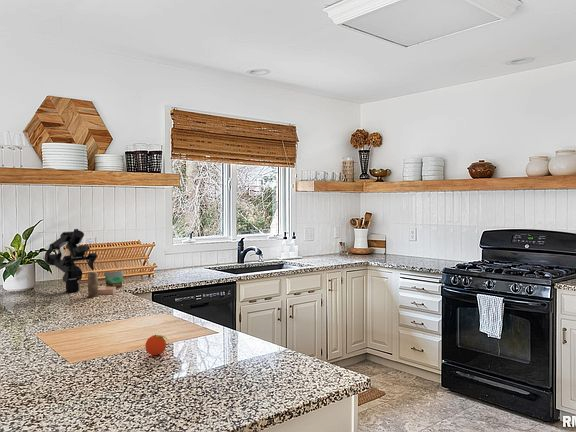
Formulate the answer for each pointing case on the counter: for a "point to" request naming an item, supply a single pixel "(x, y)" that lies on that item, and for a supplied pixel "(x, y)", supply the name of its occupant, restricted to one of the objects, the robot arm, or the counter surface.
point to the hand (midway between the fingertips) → (85, 270)
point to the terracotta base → (106, 290)
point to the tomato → (156, 344)
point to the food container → (114, 279)
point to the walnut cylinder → (92, 284)
